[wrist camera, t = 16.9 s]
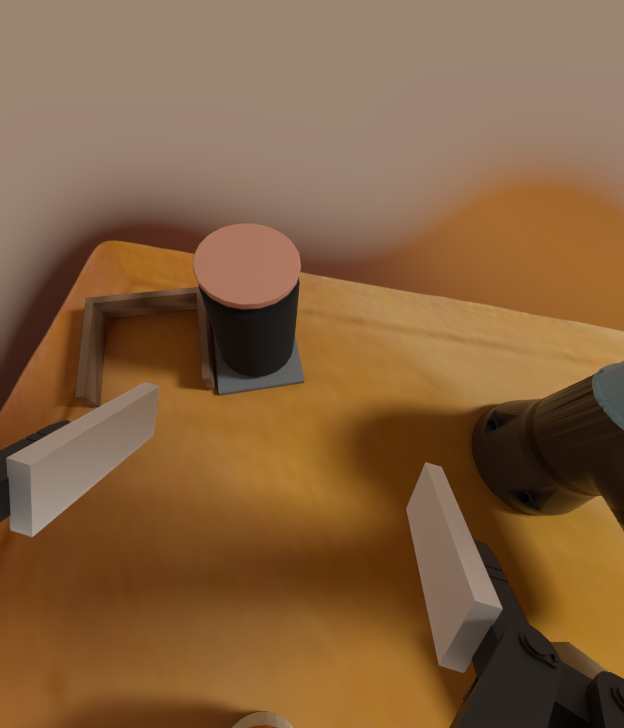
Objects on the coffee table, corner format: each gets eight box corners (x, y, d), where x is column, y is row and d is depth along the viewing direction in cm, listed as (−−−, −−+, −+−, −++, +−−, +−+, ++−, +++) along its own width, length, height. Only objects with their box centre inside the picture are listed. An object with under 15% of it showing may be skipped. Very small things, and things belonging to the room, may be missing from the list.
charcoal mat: (288, 309, 53) (289, 306, 53) (303, 382, 48) (304, 380, 47) (212, 318, 51) (212, 315, 51) (219, 395, 46) (218, 393, 45)
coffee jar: (307, 343, 50) (322, 258, 34) (261, 395, 46) (252, 324, 30) (254, 305, 52) (244, 207, 36) (205, 351, 48) (168, 263, 32)
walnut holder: (208, 302, 52) (203, 286, 49) (215, 389, 46) (210, 378, 43) (99, 314, 50) (85, 298, 46) (91, 407, 44) (75, 397, 40)
